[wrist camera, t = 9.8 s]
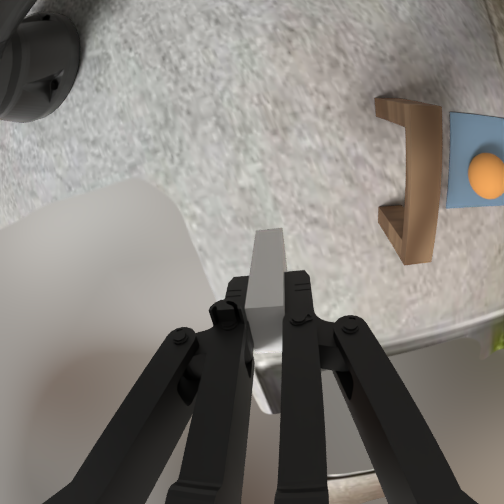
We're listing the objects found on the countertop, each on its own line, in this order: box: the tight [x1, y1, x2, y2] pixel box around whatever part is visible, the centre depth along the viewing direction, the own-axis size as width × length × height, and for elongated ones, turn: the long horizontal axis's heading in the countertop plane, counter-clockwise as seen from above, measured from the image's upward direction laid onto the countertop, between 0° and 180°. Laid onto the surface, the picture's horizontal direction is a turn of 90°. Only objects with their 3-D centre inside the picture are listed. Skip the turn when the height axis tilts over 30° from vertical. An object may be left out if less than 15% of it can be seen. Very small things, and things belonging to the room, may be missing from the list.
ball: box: [468, 153, 504, 199], centre depth 26 cm, size 6×6×6 cm
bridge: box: [375, 98, 442, 265], centre depth 26 cm, size 3×14×9 cm, turn 9°
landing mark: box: [446, 112, 504, 208], centre depth 28 cm, size 12×12×1 cm
